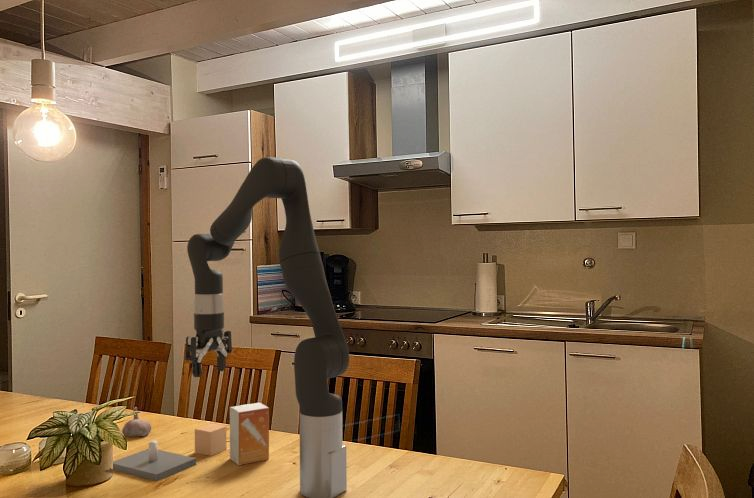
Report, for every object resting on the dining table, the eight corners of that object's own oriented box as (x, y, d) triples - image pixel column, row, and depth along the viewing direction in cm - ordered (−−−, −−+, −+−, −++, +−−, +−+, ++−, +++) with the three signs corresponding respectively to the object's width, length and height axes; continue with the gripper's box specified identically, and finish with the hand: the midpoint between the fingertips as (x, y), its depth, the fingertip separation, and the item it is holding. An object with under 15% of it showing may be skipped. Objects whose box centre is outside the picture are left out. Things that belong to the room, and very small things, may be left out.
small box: (238, 466, 147) (238, 412, 147) (229, 458, 152) (229, 406, 152) (269, 459, 151) (269, 407, 151) (259, 452, 157) (259, 401, 157)
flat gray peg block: (196, 464, 148) (195, 439, 148) (156, 481, 138) (156, 454, 138) (150, 453, 156) (150, 430, 156) (109, 468, 145) (109, 443, 145)
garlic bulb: (116, 437, 170) (116, 408, 170) (138, 430, 177) (138, 402, 177) (135, 441, 167) (134, 412, 166) (156, 434, 173) (156, 405, 173)
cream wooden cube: (226, 449, 159) (226, 426, 159) (210, 455, 154) (210, 432, 154) (210, 445, 162) (210, 423, 162) (194, 452, 157) (194, 428, 157)
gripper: (199, 314, 150) (200, 380, 150) (238, 309, 162) (239, 370, 162) (177, 313, 153) (177, 377, 153) (217, 308, 166) (218, 367, 166)
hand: (209, 373), depth 158 cm, fingers open, 8 cm apart
